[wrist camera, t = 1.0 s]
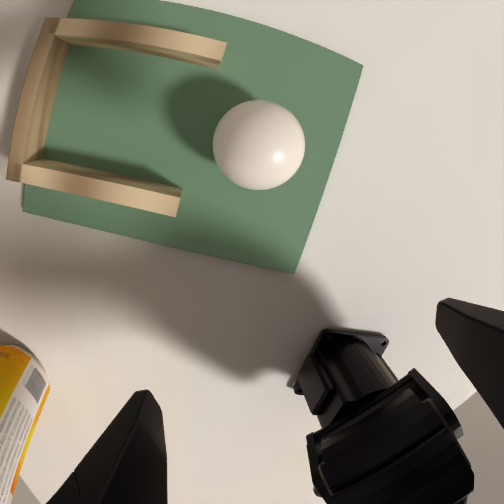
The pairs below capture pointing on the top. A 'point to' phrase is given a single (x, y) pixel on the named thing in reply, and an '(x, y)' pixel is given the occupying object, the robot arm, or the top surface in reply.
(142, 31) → the u-shaped wooden rail
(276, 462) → the top surface
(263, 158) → the golf ball
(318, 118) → the putting mat
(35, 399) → the orange cylindrical container
